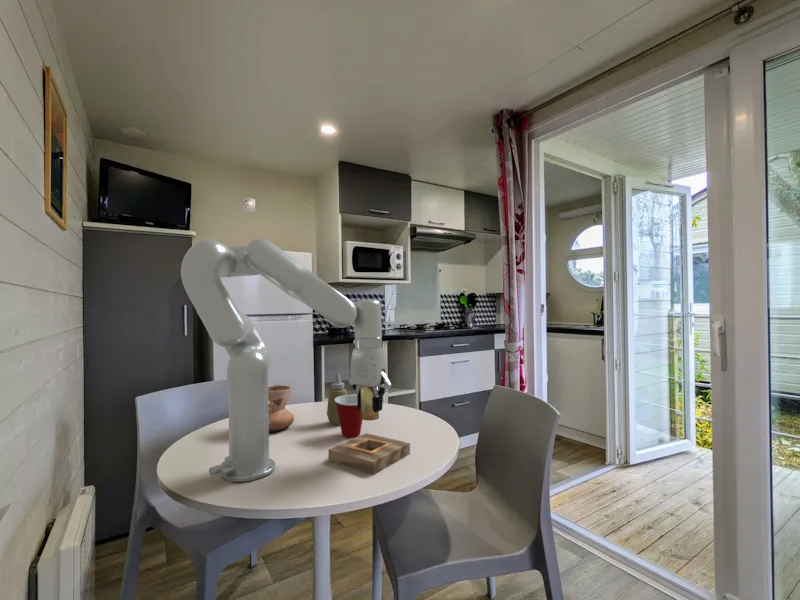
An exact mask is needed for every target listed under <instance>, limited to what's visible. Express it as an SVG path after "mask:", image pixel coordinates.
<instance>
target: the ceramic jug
mask: <svg viewBox="0 0 800 600" xmlns="http://www.w3.org/2000/svg"><path fill="white" fill-rule="evenodd" d="M291 391H292V387H291V386H289V385H285V384H284V385H283V384H274V385H270V384H268V398H269V433H271V432H277V431H281V430H285V429H287V428H289V427H290V426H291V425H292V424H293V423H294V421H295V416H294V414H293V413H292V412H291V411H289V410H288V409H287V408H286V406H287V404H288V401H289V398H290V395H291Z"/></svg>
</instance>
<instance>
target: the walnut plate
mask: <svg viewBox="0 0 800 600" xmlns="http://www.w3.org/2000/svg"><path fill="white" fill-rule="evenodd" d="M327 453H328V461H329V462H331V463H335V464H338V465H341V466H346V467H347V468H348V467H349V468H351V469H355V470H358V471H361V472H363V473H364V472H365V473H368V474H371V475H376V474H377V473H380V472H382V471H383V470H384V469H386V468H388V467H390V466H392V465H393V464H395V463H397V462H399V461H400V460H402V459H404V458H405V457H407V456H408V455H410V454H411V442H408V441H403V440H398V439H393V438H389V437H387V436H385V437H384V436H382V435H381V436H380V435H377V434H372V433H369V432H368V433H367V432H366V433H364V434H361V435H359V436H357V437H353V438H352V439H349V440H347V441H345V442H343V443H341V444H337V445H336V446H333V447H331V448H328V452H327Z"/></svg>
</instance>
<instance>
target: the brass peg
mask: <svg viewBox="0 0 800 600" xmlns="http://www.w3.org/2000/svg"><path fill="white" fill-rule="evenodd" d="M360 389H361V419H362V421H376V420H378V419H380V411H378V412H374V411H373V397H375V395H374V390H373V387H367V386H360ZM378 391H379V389H378Z"/></svg>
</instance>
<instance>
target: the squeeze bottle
mask: <svg viewBox="0 0 800 600" xmlns="http://www.w3.org/2000/svg"><path fill="white" fill-rule="evenodd" d="M334 378H335V379H334V382H333V383H331V386H330V388H331V389H329V391H328V397H327V407H326V409H327V411H326V416H327V419H328V421H329V424H330V425H331V426H340V421H339V415H338V409H337V406H336V402H335V400H334V399H335V398H337V397H339V396H344V395H348V390H347V389H346V388H345V383H344V382H342V379H341V375H340V373H339V372H337V373H335V377H334Z"/></svg>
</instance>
